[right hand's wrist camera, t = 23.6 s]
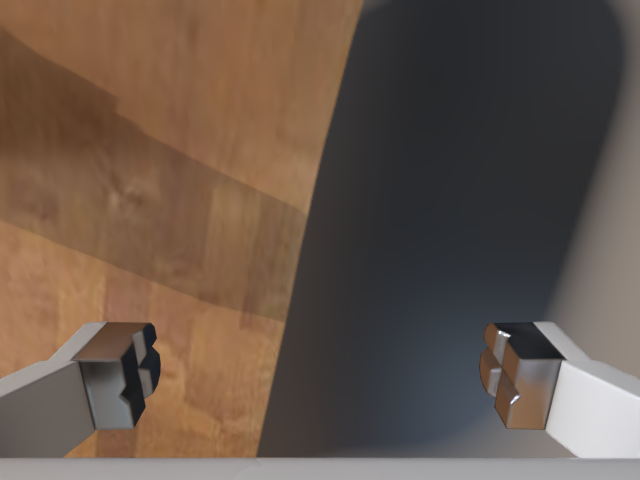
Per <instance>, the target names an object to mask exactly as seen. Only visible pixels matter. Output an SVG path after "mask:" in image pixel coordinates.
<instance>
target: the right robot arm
mask: <svg viewBox="0 0 640 480" xmlns="http://www.w3.org/2000/svg"><path fill="white" fill-rule="evenodd" d="M156 339H157V337H156V332H155V327H154V326H153V325H152V323H138V322H88V323H85V324H84V325H83V326H82V327H81V328H80V329H79V330H78V331H77V332H76V333H75V334H74V335H73V336H72V337H71V338H70V339H69V340H68V341H67V342H66V343H65V344H64V345H63V346H62V347H61V348H60V349H59V350H58V351H57V352H56V353H55V354H54V355H53V356H52V357H51V358H50V359H49V360H48V361H39V362H37V363H34V364H32V365H30V366H28V367H25V368H23V369H21V370H19V371H16V372H14V373H12V374H10V375H7V376H5V377H3V378H1V379H0V480H640V379H639V378H637V377H635V376H633V375H630V374H628V373H626V372H624V371H621V370H619V369H617V368H614V367H612V366H610V365H608V364H606V363H603V362H601V361H592V360H591V359H590V358H589V357H588V356H587V355H586V354H585V353H584V352H583V351H582V350H581V349H580V348H579V347H578V346H577V345H576V344H575V343H574V342H573V341H572V340H571V339H570V338H569V337H568V336H567V335H566V334H565V333H564V332H563V331H562V330H561V329H560V328H559V327H558V326H557V325H556V324H555V323H552V322H522V323H488V324H487V326H486V328H485V331H484V337H483V339H484V341H485V342H486V344H487V345H488V347H487V348H486V349H485V350H484V351H483V352H482V353H481V356H480V364H479V368H480V378H481V381H482V384H483V387H484V389H485V391H486V392H487V394H489V395H490V396H492V397H493V398H495V399H496V401H495V409H496V411H497V413H498V414H499V416H500V418H501V420H502V422H503V423H504V425H505V427H506V429H531V430H545V432H546V433H547V434H549V435H550V436H551V437H552V438H554V439H555V440H556V441H558V442H559V443H560V444H561V445H563V446H564V447H565V448H567V449H568V450H569V451H570V452H572V453H573V454H574V455H575V456H577V457H578V458H62V457H64V456H65V455H66V454H67V453H69V452H70V451H71V450H72V449H74V448H75V447H76V446H78V445H79V444H80V443H81V442H83V441H84V440H85V439H86V438H88V437H89V436H90V435H92V434H93V433H94V432H95V430H110V429H134V427H135V425H136V423H137V422H138V420H139V418H140V416H141V414H142V413H143V411H144V409H145V401H144V399H145V398H147V397H148V396H150V395H151V394H153V392H154V391H155V389H156V387H157V385H158V381H159V376H160V367H161V362H160V355H159V353H158V352H157V351H156V350H155V349H154V348H153V347H152V345H153V344H154V342H155V341H156Z"/></svg>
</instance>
